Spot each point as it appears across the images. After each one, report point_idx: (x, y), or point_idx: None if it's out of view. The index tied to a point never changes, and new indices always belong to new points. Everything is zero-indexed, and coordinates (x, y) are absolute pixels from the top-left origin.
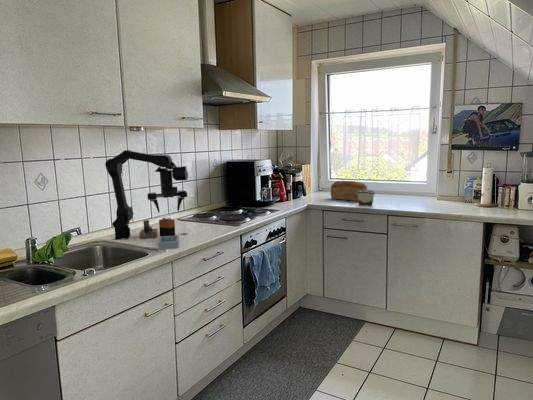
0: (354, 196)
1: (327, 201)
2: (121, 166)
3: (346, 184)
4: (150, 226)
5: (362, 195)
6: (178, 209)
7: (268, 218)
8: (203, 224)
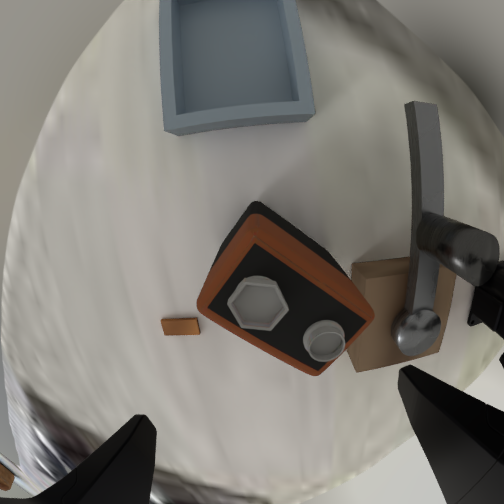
0: None
1: (9, 466)
2: None
3: None
4: (408, 346)
5: None
6: (124, 429)
7: (10, 423)
8: None
